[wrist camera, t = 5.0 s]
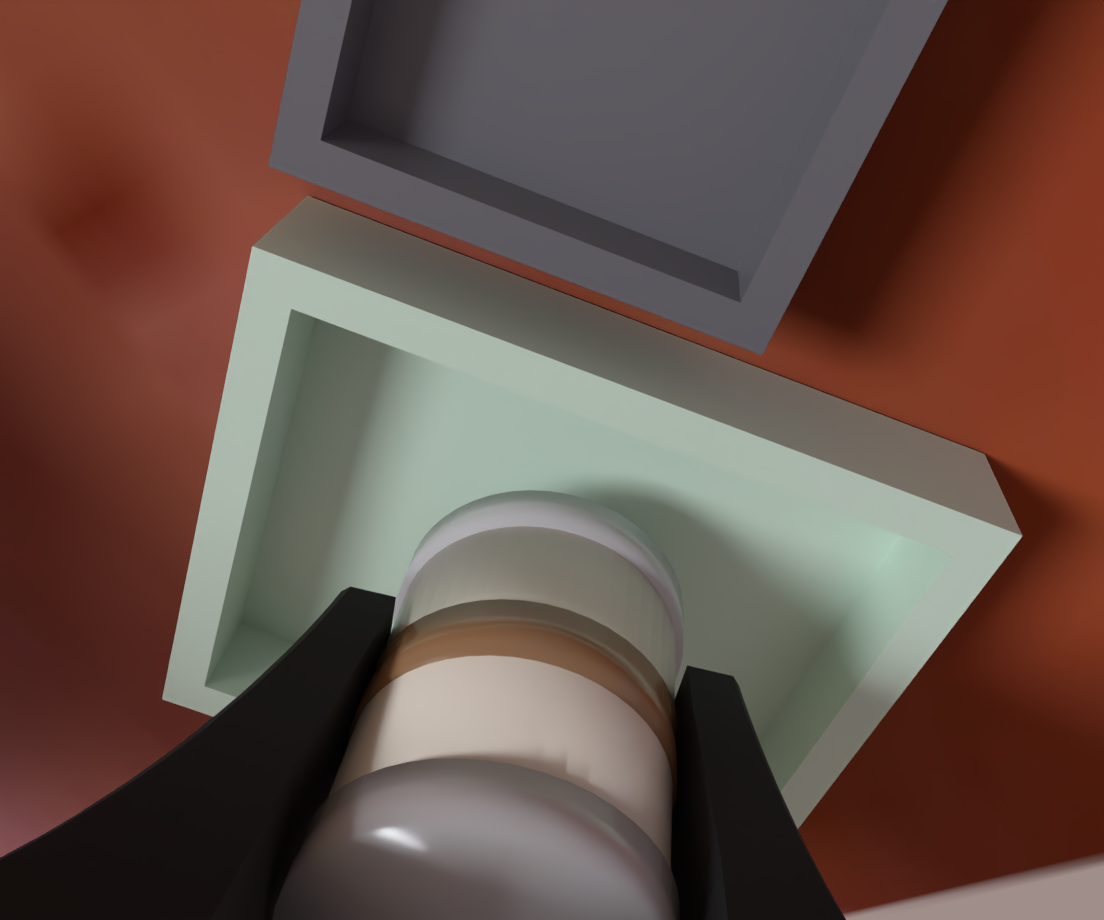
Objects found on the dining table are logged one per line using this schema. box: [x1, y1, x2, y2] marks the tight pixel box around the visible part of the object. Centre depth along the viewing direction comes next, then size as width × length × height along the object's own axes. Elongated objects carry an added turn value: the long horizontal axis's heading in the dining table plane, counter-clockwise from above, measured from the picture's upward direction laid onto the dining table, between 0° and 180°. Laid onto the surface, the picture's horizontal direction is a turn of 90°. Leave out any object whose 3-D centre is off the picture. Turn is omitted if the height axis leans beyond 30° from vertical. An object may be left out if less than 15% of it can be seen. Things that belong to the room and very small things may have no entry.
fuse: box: [273, 490, 684, 920], centre depth 12 cm, size 4×4×6 cm
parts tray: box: [162, 196, 1022, 829], centre depth 15 cm, size 10×8×2 cm
